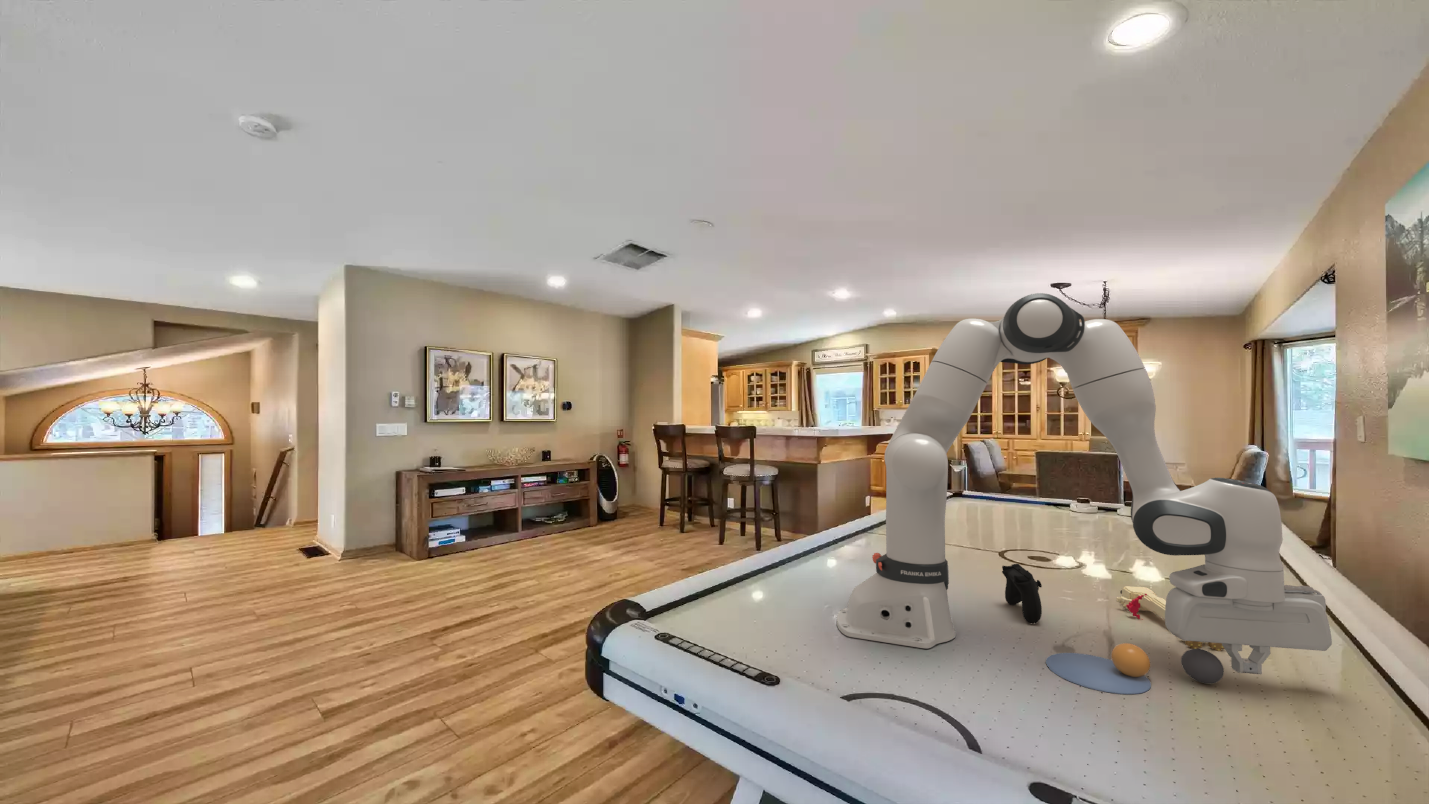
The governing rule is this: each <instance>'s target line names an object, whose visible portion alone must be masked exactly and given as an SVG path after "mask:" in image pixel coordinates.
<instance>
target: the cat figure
mask: <svg viewBox="0 0 1429 804" xmlns="http://www.w3.org/2000/svg"><path fill="white" fill-rule="evenodd" d="M1119 591H1120V594H1121V596H1119V597H1118V596H1116V598H1115V599H1116V600H1115V601H1116V603H1118V604H1120V605H1122V607H1123V608H1125V609H1126V610H1128V611H1129V612H1130V613H1131V614H1132V616H1133V617H1135V618H1136V619H1138V620H1144V618H1141V615H1140V614H1139V611H1144V612H1151V613H1152V614H1154V615H1155V616H1159V617H1160V618H1161V619H1163V620H1164V621H1165V606H1166V599H1164V598H1163V597H1159V596H1158V595H1157V593H1155V592H1154V591H1153V590H1151V589H1150V588H1148V587H1146V586H1145V587H1144V586H1129V585H1128V586H1127V585H1125V586H1124V587H1123V588H1121V590H1119ZM1182 641H1183V642H1185V643H1184V644H1185V645H1186V646H1187V647H1189V648H1190V649H1202V648H1203V643H1205V642H1197V641H1185V640H1182ZM1207 645H1208V647H1209V648H1211V650H1214V651H1219V652H1222V650H1225V649H1224V647H1223V646H1222V643H1211V642H1207Z"/></svg>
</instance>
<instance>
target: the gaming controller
mask: <svg viewBox="0 0 1429 804" xmlns="http://www.w3.org/2000/svg"><path fill="white" fill-rule="evenodd" d="M1001 568H1002V571H1001V573H1002V574H1003V576H1004V577H1005V580H1006V581H1005V582H1006V583H1005V590H1004V599H1005V601H1006V603H1007V604H1008V605H1010V606H1015V605H1017V604H1020V603H1021V611H1022V616H1023V619H1024V620H1025V622H1027V623H1028V624H1030V623H1032V624H1031V625H1035V624H1037V623H1039V622H1040V620H1041V618H1042V613H1043V609H1042V608H1043V607H1042V601H1041V597H1040V593H1039V589H1041V588H1042V587H1043V586H1042V583H1041V581H1040V579H1037V580H1036V579H1034V576H1033V574H1032V573H1031V572H1030V571H1029V570H1027V569H1025V568H1024V567H1022V565H1020V563H1013V564H1011V565H1002V567H1001ZM1034 623H1035V624H1034Z"/></svg>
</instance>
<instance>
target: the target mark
mask: <svg viewBox="0 0 1429 804" xmlns="http://www.w3.org/2000/svg"><path fill="white" fill-rule="evenodd" d="M1045 664H1047V665H1046V667H1047V666H1048V667H1049V668H1048V667H1047V668H1048V669H1049V670H1050V671H1051V672H1052V673H1053V672H1054V674H1055V675H1056V674H1057V676H1058V677H1060V678H1062V679H1064V680H1065V679H1066V680H1065V681H1068V682H1070V683H1073V684H1075V685H1078V686H1080V687H1084V688H1087V689H1090V690H1094V691H1099V692H1104V693H1110V694H1114V695H1115V694H1117V695H1139V694H1143V693H1146V692H1148V691H1149V690H1150V689H1151V688H1152V683H1151V681H1150V679H1149V678H1148V677H1147V676H1146V674H1145V675H1144V676H1141V677H1131V676H1127V675H1125V674H1123V673H1122V672H1120V671H1119V670H1118V669H1117V668H1116V667H1115V665H1114V664H1113V661H1112V659H1109V658H1106V657H1101V656H1099V655H1098V656H1097V655H1092V654H1086V653H1080V652H1061V653H1054V654H1050V655H1049V656H1048V657H1047V658H1046V659H1045Z"/></svg>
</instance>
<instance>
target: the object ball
mask: <svg viewBox="0 0 1429 804" xmlns="http://www.w3.org/2000/svg"><path fill="white" fill-rule="evenodd" d="M1110 655H1111V660H1112V661H1113V664H1114V665H1115V667H1116V668H1117V669H1118V670H1119V671H1120V672H1122V673H1123V674H1125V675H1127V676H1131V677H1141V676H1144V675H1145V676H1146V675H1147V674H1148V673H1149V671H1150V670H1151V669H1150V668H1151V660H1150V658H1149V655H1148V654H1147V653H1146V652H1145V651H1144V649H1142V648H1141V647H1139V646H1138V645H1135V644H1132V643H1129V642H1123V643H1120V644H1117V645H1115V646H1114V647H1113V649H1112V651H1111V654H1110Z"/></svg>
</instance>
